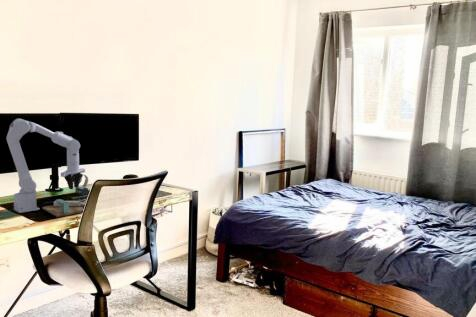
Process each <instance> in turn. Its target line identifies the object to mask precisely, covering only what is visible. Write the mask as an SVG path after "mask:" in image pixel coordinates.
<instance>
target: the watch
mask: <svg viewBox="0 0 476 317" xmlns="http://www.w3.org/2000/svg"><path fill="white" fill-rule="evenodd" d="M83 177H84V179H85V180H84V182H83ZM82 182H83V185H82V186H79V187H78V188H75V187H74V188H75V189H74V190H75V194H76V195H79V196H80V195H81V196H85V195H88V194H89V188H88V187H87V186H88V185H89V184H88V183H89V177H88V176H87V175H86V174H83V176H82V178H81V180H80V183H82ZM80 183H79V185H80Z"/></svg>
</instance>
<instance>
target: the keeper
mask: <svg viewBox="0 0 476 317" xmlns="http://www.w3.org/2000/svg"><path fill="white" fill-rule="evenodd" d="M55 201H56V203H58V204H60V205H62V212H63V213H68V212H69V203H68V202H66V201H67V200H64V199H61V198H59V199H58V198H57V199H55Z"/></svg>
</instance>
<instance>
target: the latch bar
mask: <svg viewBox="0 0 476 317" xmlns="http://www.w3.org/2000/svg"><path fill="white" fill-rule="evenodd" d="M81 200H82V201H81ZM81 200H65V201H66V202H68V203H69V206H84V205H85V202H86V201H87V199H86V198H82V199H81ZM53 205H54V206H62V205H60V204H58V203H56V200H54V201H53Z"/></svg>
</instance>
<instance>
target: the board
mask: <svg viewBox="0 0 476 317" xmlns="http://www.w3.org/2000/svg"><path fill="white" fill-rule="evenodd" d="M80 201H82V199H80ZM83 207H84V206H69V212H68V213H63V212H62V206H54V204H53V205H52V204H51V205H47V206H42V207H41V208H42V210H44V211H45V212H47V213H50V214H51V215H53V216H54V217H56V218H58V217H65V216H69V215H74V214H81V213H83V212H82V211H83Z"/></svg>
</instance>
